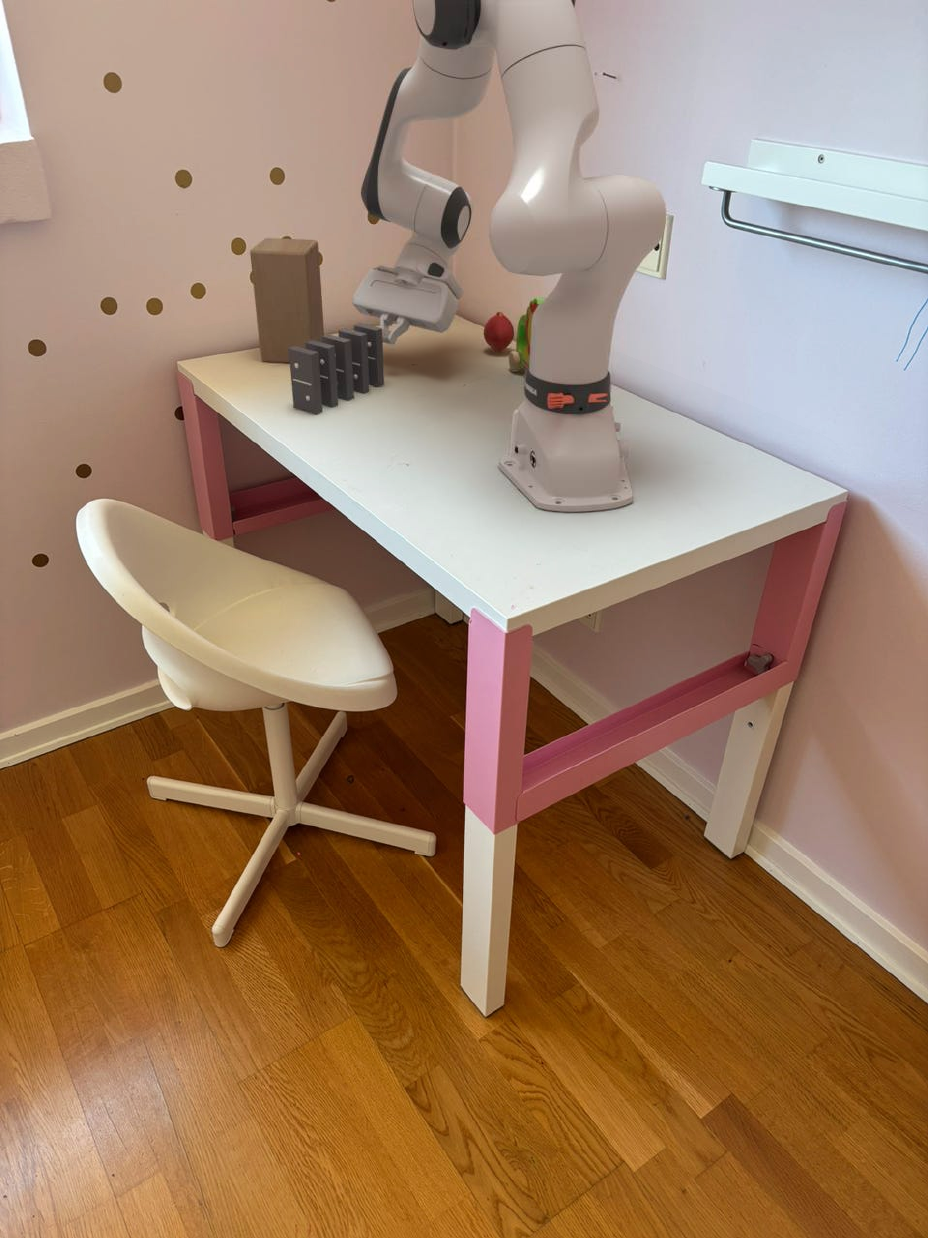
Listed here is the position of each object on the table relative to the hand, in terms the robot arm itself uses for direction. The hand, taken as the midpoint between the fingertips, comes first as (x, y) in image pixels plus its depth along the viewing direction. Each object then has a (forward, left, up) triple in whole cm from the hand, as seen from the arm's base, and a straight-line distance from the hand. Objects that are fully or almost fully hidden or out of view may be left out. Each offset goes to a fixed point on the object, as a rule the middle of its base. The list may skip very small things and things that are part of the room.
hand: (385, 341), depth 168 cm
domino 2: (-12, +12, -6) cm, 18 cm away
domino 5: (-3, +3, -6) cm, 8 cm away
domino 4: (-6, +6, -6) cm, 11 cm away
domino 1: (-15, +15, -6) cm, 22 cm away
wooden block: (+14, +16, -6) cm, 22 cm away
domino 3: (-9, +9, -6) cm, 14 cm away
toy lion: (-6, -26, -7) cm, 27 cm away
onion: (+11, -23, -6) cm, 26 cm away
